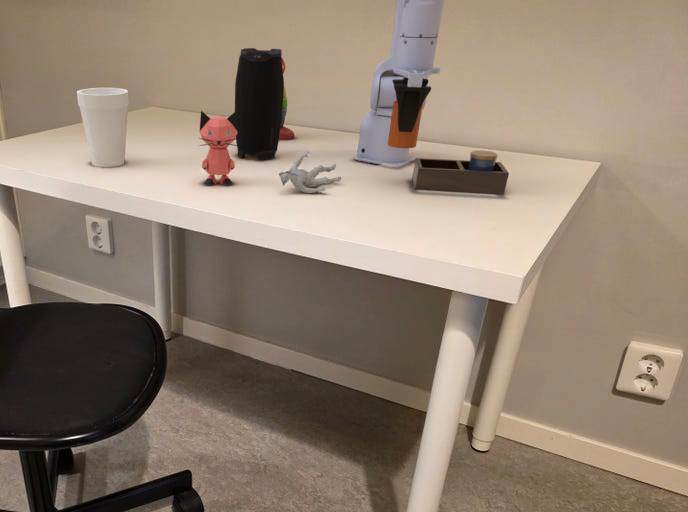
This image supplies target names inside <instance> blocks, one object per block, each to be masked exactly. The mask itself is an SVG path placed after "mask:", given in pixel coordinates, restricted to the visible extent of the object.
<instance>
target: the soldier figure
mask: <svg viewBox="0 0 688 512" xmlns="http://www.w3.org/2000/svg"><path fill="white" fill-rule="evenodd" d="M311 153H312V152H311V151H310V150H308V151H305V152H304V153H302V155H300V156H299V157H298V158H297V159H296V160H295V161H294V163H293V164H292V166H291V167H290V168H289V169H288V170H286V171H283V172H282V171H281V172H279V173H278V176H279V178H280V181H281V183H282V185H283V187H285V185H286V184H287V183H288V182H289V181H290V183H292V185H293V187H294V188H296V189H297V190H299V191H300V192H302V193H304V194H316V193H320V194H322V193H323V192H325V191H326V188H325V187H321V186H323V185H329V184H331V183H334V182H340V181H342V176H336V177H332V178H329V177H327V176H322V177H320V178H317V176H319V174H321V173H324V172H325V173H331V172H332V171H334V170H336V168H337V164H336V163H333V164H332V165H330V166H323V165H322V164H319V165H318V166H316V167H313V168H312V169H311V170H310V171H307V170H306V169H304V168H303V169H299V167H300V166H301V164H302V162H303V160H304V158H308V157H310V156H309V155H308V154H311ZM316 187H317V188H316Z"/></svg>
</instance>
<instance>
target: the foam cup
mask: <svg viewBox="0 0 688 512" xmlns="http://www.w3.org/2000/svg"><path fill="white" fill-rule="evenodd" d="M76 97H77V99H76V100H77V106H78V108H79V111H80V116H81V120H82V124H83V130H84V133H85V139H86V143H87V148H88V153H89V157H90V161H91V165H92V166H94V167H99V168H113V167H114V168H115V167H119V166H122V165H124V164H125V159H126V146H127V145H126V143H127V129H128V128H127V127H128V114H129V113H128V112H129V105H130V98H129V97H130V96H129V91H128V89H125V88H118V87H91V88H83V89H79V90H77V91H76Z"/></svg>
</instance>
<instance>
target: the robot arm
mask: <svg viewBox="0 0 688 512" xmlns="http://www.w3.org/2000/svg"><path fill="white" fill-rule="evenodd" d="M444 2H445V0H396V1H395V9H394V20H393V30H392V39H391V49H390V56H389V57H387V58H386V59H384V60H383V61H381V62H380V63H379V64H378V65H377V66H376V67H375V69H374V71H373V79H372V84H371V88H370V89H371V91H370V99H369V108H370V110H371V111H368V112H366V114H365V115H364V116H363V118H362V120H361V123H360V127H359V136H358V142H357V143H358V144H357V151H356V156H355V157H354V160H355V161H359V162H364V163H370V164H375V165H382V164H386V165H390V166H396V167H399V166H401V165H404V164H407V163H409V162H411V161H415V158H416V157H414V156H413V157H412V156H409V155H410V149H411V148H395V147H391V146H389V145H388V138H389V131H390V124H391V117H392V110H393V103H394V101H396V100H397V102H398V129H399V132H412V130H413V128H414V126H415V123H416V120H417V117H418V114H419V111H420V109H421V106H422V104H423V107H422V111H423V110H424V108H425V106H426V102H427V98H428V95H430V93H431V91H432V86H429V79H428V78H429V76H432V75H436V74H437V75H439V74H440V73H441V68H440V67H434V63H435V62H434V61H435V57H436V50H437V44H438V37H439V32H440V27H441V22H442V21H441V20H442V15H443V9H444V8H443V7H444Z"/></svg>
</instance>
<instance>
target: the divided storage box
mask: <svg viewBox="0 0 688 512" xmlns="http://www.w3.org/2000/svg"><path fill="white" fill-rule="evenodd" d="M414 158H415V159H414V164H413V169H412V177H411V180H412V185H413V188H414V191H429V192H430V191H431V192H445V193H461V194H462V193H464V194H482V195H495V196H497V195H498V196H499V195H500V196H504V195H505V191H506V187H507V183H508V180H509V175H510V173H509V171H508V170H507V169H506V167H505V166H504V164H503V163H502V162H501V161H496V162H495V166H494V170H493V171H477V170H468V166H469V161H470V160H467V159H465V160H463V159H445V158H443V159H442V158H425V157H424V158H423V157H414Z"/></svg>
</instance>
